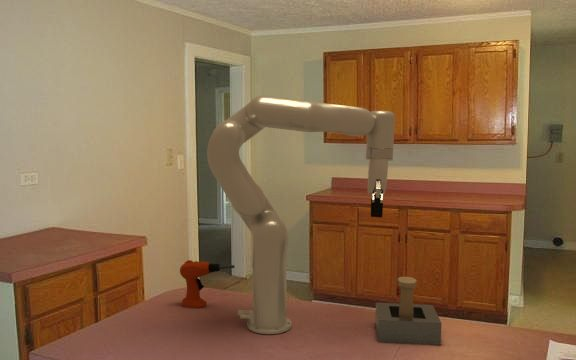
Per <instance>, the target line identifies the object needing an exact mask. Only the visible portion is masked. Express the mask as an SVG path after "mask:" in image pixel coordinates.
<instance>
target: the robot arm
mask: <svg viewBox="0 0 576 360" xmlns="http://www.w3.org/2000/svg"><path fill="white" fill-rule="evenodd" d="M395 123H396V115H395V113H394V112H392V111H390V110H372V111H370V110H368V109H366V108H365V107H359V106H351V105H350V106H349V105H344V104H343V105H342V104H336V103H335V104H334V103H324V102H318V101H311V100H303V99H294V98H286V97H285V98H284V97H278V96H272V95H271V96H270V95H258V96H256V97H254V98H253V99H251V101H249V102H248V103H247V104H245V106H242V108H241V109H240V110H238V111H237V112H234V114H232V115H231V116H229V117H228V118H226V119H225V120H223V121H222V122H220V123H218V124H217V126H216V127H215V128H214V129H213V131H212V134H211V136H210V138H209V140H208V144H207V148H206V157H207V163H208V166H209V169H210V171H211V173H212V175H213V177H214V178H215V179H216V181H217V183H218V184H219V186H220V187H221V189H222V191H223V192H224V194H225V195H226V197H227V198H228V200H229V202H230V203H231V206H232V209H233V210H234V211H235V212H236V213H237V214H238V215H239V216H240V218H241V220H242V221H243V222H244V224H245V225H246V227H247V229H248V230H249V232H250V233H251V234H252V235H251V236H252V309H249V310H245V309H238V310H237V317H239V318H240V319H239V320H248V321H247V322H246V324H247V325H246V328H247V329H248V330H249V331H251V332H253V333H256V334H260V335H279V334H282V333H284V332H287V331H289V330H290V329H292V326H293V325H292V320H291V319H290V318H289V317H287V274H288V273H287V259H288V243H289V233H288V228H287V226H286V223H284V221H283V220H282V218H280V216H279V214H278V213H277V211H276V210H275V209H274V207H273V206H272V204H271V203H270V200H269V199H268V197H266V194H265V193H264V191H263V189H262V188H261V187H260V186H259V184H257V183H256V181H255V180H254V179H253V177H252V176H251V174H250V173H249V171H248V169H247V167H246V166H245V165H244V163H243V162H242V159H241V157H240V149H241V147H242V146H243V145H244V144H245V143H247V142H248V141H249V140H250V139H252V138H253V137H254V136H256V135H257V134H258V133H260V132H261V131H263V130H264V129H265V128H269V129H277V130H278V129H279V130H285V131H286V130H287V131H296V132H302V133H320V132H323V133H333V134H342V135H347V136H350V137H362V136H366V151H365V159H366V160H369V164H368V172H367V195H371V199H370V217H371V218H383V215H384V214H383V211H384V203H383V199H384V198H383V196H385V194H386V189H387V183H388V173H389V170H388V169H389V162H390V161H393V159H394V143H395V142H394V141H395V127H396V124H395Z"/></svg>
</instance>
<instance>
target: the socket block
mask: <svg viewBox="0 0 576 360" xmlns="http://www.w3.org/2000/svg"><path fill="white" fill-rule="evenodd" d="M399 306H400V303H397V302H396V303H394V302H393V303H391V302H375V319H374V320H375V321H374V322H375V328H376V335H377V342H378V343H386V344H387V343H388V344H408V345H425V346H427V345H429V346H441V345H442V321H441V319H440V316H439V315H438V314H437V311H436V309H435V307H434V305H433V304H419V303H418V304H416V303H413V312H414V313H413V318H399Z"/></svg>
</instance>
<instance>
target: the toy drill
mask: <svg viewBox="0 0 576 360" xmlns="http://www.w3.org/2000/svg"><path fill="white" fill-rule="evenodd" d="M224 269H227V270H228V269H235V265H234V264H226V265H220V263H212V262H207V261H203V260H202V261H193V260H191V259H188V260H186V261H185V262H184V263H183V264H182V265H181V266H180V268H179V273H180V276H181V277H182V278H183V279H185V282H186V295H185V297H183V298H182V304H181V305H182V307H184V306H185V308H190V307H191V308H190V309H192V308H193V309H203V308H205V307H206V306H207V301H206V300H204V299H203V298H202V297H201V293H200V291H202V289H203V288H204V287H205V285H204V284H202V282H201V281H202V280H201V279H200V278H201V277H204V276H207V275H209V274H210V275H211V274H212V273H216V272H217V273H218V272H220V271H221V270H224Z"/></svg>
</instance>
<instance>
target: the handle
mask: <svg viewBox="0 0 576 360" xmlns="http://www.w3.org/2000/svg"><path fill="white" fill-rule="evenodd" d="M417 281H418V280H417V279H416V278H414V277H413V276H412V277H411V276H399V277H398V278H397V285H398V287H400V295H399V296H400V297H399V304H400V306H399V318H413V313H414V312H413V304H414V288H416V287H417V284H418V283H417Z"/></svg>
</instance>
